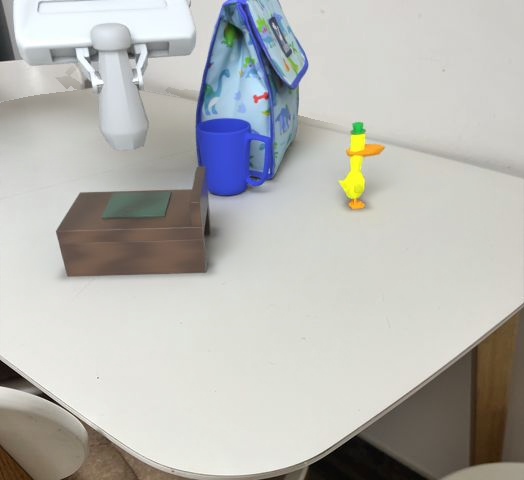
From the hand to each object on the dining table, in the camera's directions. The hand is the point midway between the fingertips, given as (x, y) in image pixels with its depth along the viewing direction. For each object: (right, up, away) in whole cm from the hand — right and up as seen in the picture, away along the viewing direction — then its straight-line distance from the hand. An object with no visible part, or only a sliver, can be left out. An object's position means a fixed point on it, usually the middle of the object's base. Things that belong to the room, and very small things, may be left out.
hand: (118, 89), depth 65 cm
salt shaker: (0, -5, +5) cm, 7 cm away
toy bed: (+1, -17, +9) cm, 19 cm away
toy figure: (+31, -9, +20) cm, 38 cm away
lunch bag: (+15, +5, +38) cm, 41 cm away
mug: (+13, -5, +25) cm, 29 cm away
